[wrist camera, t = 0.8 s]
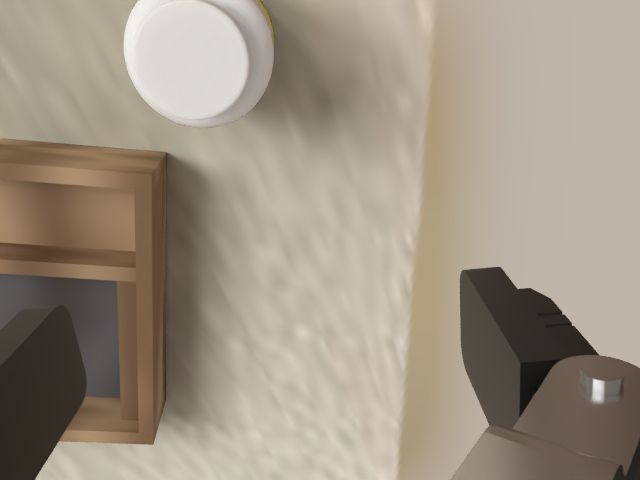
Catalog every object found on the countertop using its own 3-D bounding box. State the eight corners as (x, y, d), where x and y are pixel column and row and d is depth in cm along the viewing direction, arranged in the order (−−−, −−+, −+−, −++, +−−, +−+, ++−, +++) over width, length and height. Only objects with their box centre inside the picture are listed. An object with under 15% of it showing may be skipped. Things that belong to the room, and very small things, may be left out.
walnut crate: (-52, 389, 36) (-89, 435, 32) (-95, 130, 30) (-148, 150, 26) (165, 399, 37) (153, 444, 34) (166, 152, 31) (151, 174, 28)
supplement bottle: (207, 116, 31) (175, 173, 21) (137, 20, 29) (68, 36, 19) (297, 55, 30) (305, 86, 20) (231, -49, 28) (206, -67, 18)
